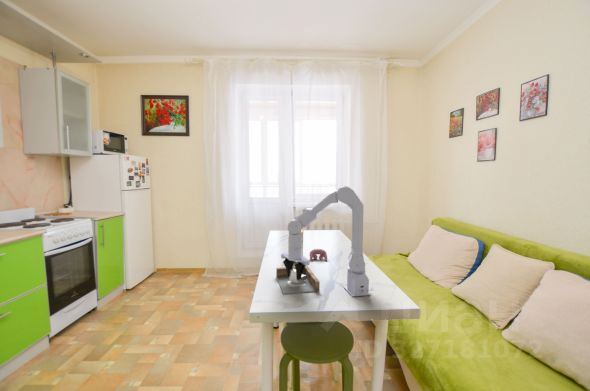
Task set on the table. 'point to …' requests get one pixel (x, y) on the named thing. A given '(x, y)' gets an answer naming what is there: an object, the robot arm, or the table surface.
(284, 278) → the mat
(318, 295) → the table surface
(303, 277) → the aluminium bracket
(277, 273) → the corner walls
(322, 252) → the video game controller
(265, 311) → the table surface
